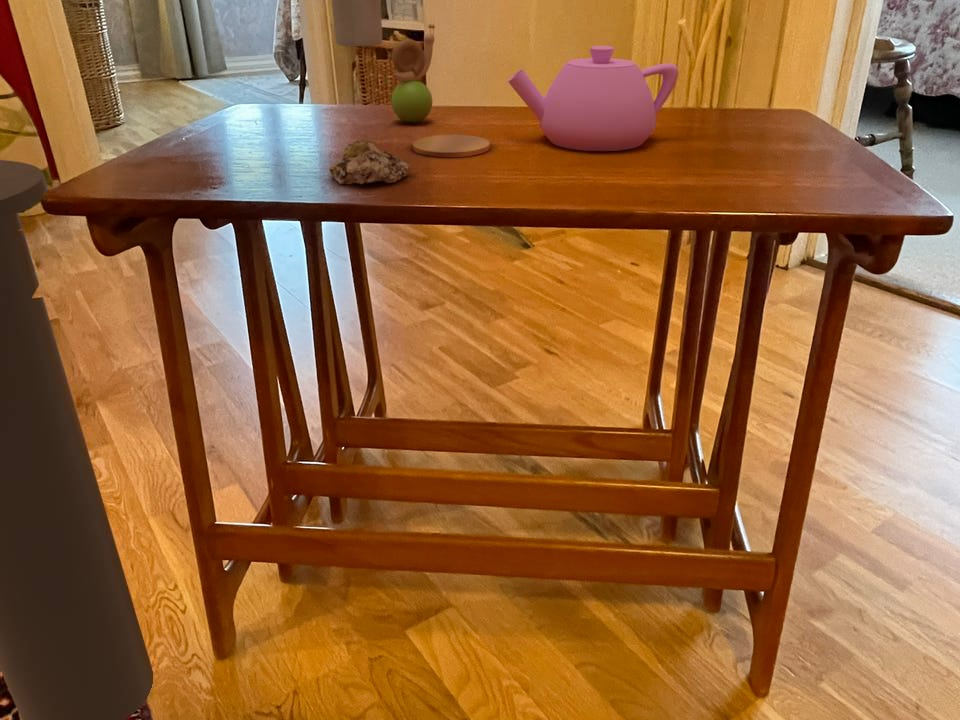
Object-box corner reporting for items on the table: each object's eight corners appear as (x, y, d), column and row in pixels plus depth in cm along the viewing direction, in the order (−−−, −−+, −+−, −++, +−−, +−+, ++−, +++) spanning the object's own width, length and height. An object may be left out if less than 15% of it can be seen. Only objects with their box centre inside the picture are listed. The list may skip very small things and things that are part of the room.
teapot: (504, 129, 101) (505, 40, 96) (658, 127, 101) (667, 39, 96) (510, 154, 89) (511, 54, 84) (685, 152, 89) (697, 53, 84)
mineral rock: (421, 161, 77) (340, 143, 74) (411, 204, 79) (331, 188, 76) (402, 141, 86) (329, 125, 84) (393, 179, 88) (322, 165, 85)
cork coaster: (421, 160, 87) (421, 154, 87) (406, 142, 95) (406, 137, 94) (499, 154, 89) (499, 149, 89) (478, 137, 97) (478, 132, 97)
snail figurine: (446, 122, 105) (444, 25, 99) (405, 128, 102) (400, 28, 96) (425, 115, 109) (422, 22, 103) (385, 121, 106) (379, 25, 100)
